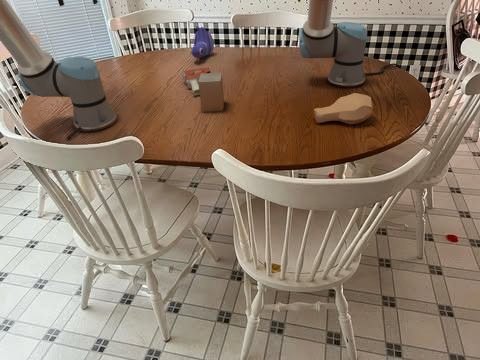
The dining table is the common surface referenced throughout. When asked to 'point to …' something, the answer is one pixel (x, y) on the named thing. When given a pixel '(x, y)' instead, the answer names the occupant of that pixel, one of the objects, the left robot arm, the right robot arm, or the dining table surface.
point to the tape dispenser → (193, 78)
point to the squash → (346, 109)
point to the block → (211, 92)
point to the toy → (202, 43)
